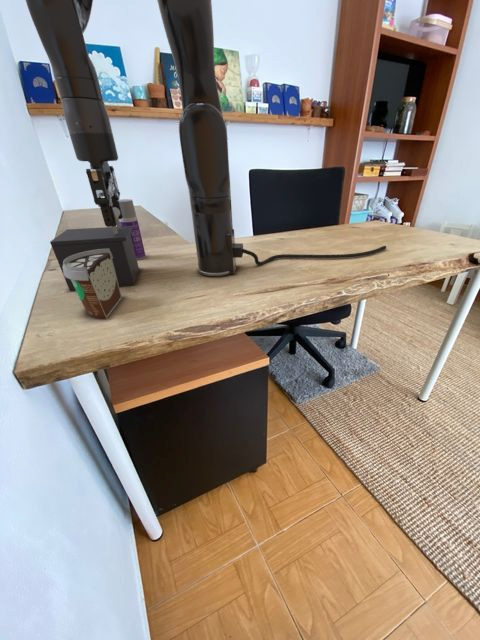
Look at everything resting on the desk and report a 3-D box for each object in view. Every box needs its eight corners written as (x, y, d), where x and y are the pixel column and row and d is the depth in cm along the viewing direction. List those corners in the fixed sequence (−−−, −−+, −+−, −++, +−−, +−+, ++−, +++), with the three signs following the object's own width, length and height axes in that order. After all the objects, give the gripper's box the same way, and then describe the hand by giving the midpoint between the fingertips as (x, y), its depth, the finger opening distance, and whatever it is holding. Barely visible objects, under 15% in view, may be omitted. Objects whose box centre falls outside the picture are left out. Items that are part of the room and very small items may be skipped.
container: (140, 260, 83) (126, 201, 74) (125, 259, 84) (109, 201, 75) (149, 255, 87) (136, 199, 78) (134, 255, 87) (120, 199, 79)
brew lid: (132, 229, 72) (126, 204, 69) (126, 241, 62) (119, 213, 59) (68, 232, 69) (59, 207, 66) (51, 245, 60) (39, 217, 57)
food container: (94, 296, 63) (77, 248, 57) (124, 294, 63) (110, 247, 58) (68, 324, 53) (44, 269, 47) (103, 322, 53) (84, 268, 47)
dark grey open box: (139, 268, 77) (129, 229, 72) (134, 285, 68) (122, 241, 62) (83, 273, 74) (68, 233, 69) (69, 291, 65) (51, 246, 60)
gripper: (104, 129, 51) (128, 228, 60) (117, 133, 62) (136, 215, 72) (56, 129, 49) (89, 230, 59) (79, 132, 61) (103, 217, 70)
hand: (115, 222), depth 65 cm, fingers open, 8 cm apart
